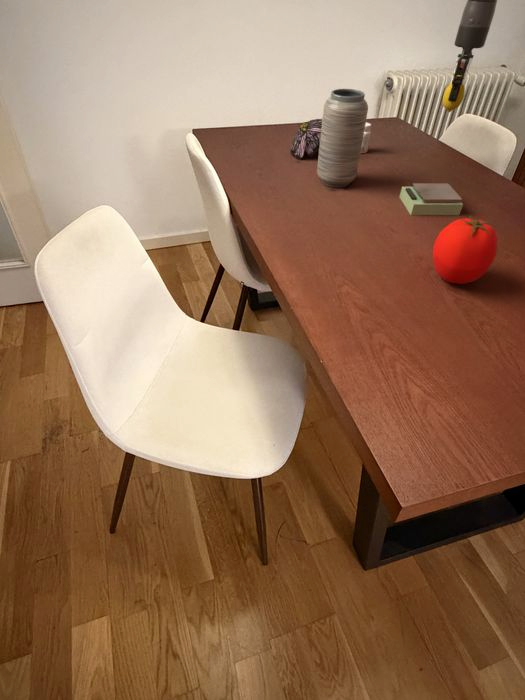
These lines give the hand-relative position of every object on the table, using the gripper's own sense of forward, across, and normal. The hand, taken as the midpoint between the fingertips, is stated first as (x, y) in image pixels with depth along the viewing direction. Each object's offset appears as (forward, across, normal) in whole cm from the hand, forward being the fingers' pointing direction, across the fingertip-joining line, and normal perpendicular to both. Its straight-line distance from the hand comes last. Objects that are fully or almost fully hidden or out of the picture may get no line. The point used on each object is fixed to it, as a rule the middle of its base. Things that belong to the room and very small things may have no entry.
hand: (453, 98), depth 116 cm
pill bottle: (+19, +4, +25) cm, 32 cm away
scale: (+19, -30, -3) cm, 35 cm away
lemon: (+4, 0, 0) cm, 4 cm away
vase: (+19, -25, +25) cm, 40 cm away
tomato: (+19, -63, -12) cm, 67 cm away
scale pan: (+16, -29, -4) cm, 33 cm away
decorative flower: (+19, -7, +40) cm, 44 cm away
